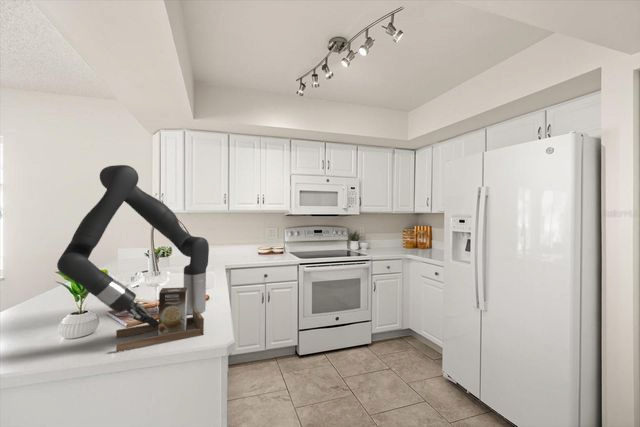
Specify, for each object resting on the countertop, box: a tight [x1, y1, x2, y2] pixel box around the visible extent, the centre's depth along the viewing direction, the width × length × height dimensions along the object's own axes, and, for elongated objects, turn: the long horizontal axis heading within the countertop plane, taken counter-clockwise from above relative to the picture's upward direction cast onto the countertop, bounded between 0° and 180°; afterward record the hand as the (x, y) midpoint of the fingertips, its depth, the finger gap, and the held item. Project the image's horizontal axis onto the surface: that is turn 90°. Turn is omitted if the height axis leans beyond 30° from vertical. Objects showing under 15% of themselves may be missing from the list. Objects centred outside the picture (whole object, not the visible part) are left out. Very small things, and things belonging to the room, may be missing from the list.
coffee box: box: [157, 286, 188, 336], centre depth 113 cm, size 9×6×16 cm
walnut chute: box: [115, 308, 205, 353], centre depth 110 cm, size 14×27×6 cm, turn 123°
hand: (156, 324), depth 109 cm, fingers closed
